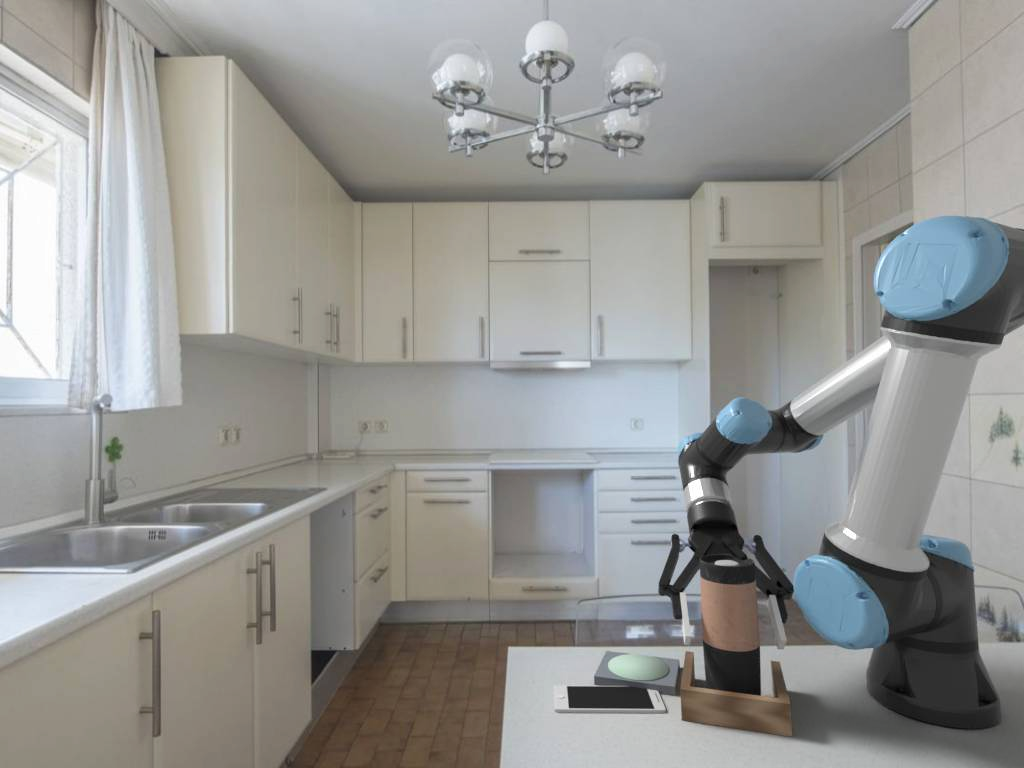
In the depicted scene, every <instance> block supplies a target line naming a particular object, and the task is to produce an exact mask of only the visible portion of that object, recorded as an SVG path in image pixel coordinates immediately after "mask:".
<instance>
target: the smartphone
mask: <svg viewBox="0 0 1024 768" xmlns="http://www.w3.org/2000/svg"><path fill="white" fill-rule="evenodd" d="M553 707H554V708H553V710H554V713H559V714H560V713H561V714H564V713H566V714H568V713H570V714H571V713H572V714H573V713H574V714H575V713H577V714H579V713H581V714H583V713H585V714H586V713H587V714H590V713H593V714H596V713H597V714H666V713H667V708H666V706H665V704H664V702H663V699H662V697H661V693H659V692H658V691H657V690H651V689H644V688H637V687H629V686H604V685H553Z"/></svg>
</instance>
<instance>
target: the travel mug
mask: <svg viewBox="0 0 1024 768" xmlns="http://www.w3.org/2000/svg"><path fill="white" fill-rule="evenodd" d="M747 558H748V557H747ZM755 565H756V563H755V561H754V559H752V558H750V557H749V558H748V559H747V560H739V559H736V558H735V557H734V556H733V555H729V554H711V555H705V556H702V557H701V558H700V570H699V576H700V579H699V580H700V581H699V582H700V606H701V632H702V633H701V635H702V649H703V661H704V662H703V663H704V665H703V666H704V673H705V674H704V676H705V686H706V687H705V688H706V689H713V690H721V691H728V692H736V693H743V694H751V695H758V696H762V681H761V680H762V677H761V646H760V645H761V640H760V622H759V609H758V607H759V606H758V594H757V593H758V592H757V587H756V574H755Z"/></svg>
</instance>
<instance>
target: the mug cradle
mask: <svg viewBox="0 0 1024 768" xmlns="http://www.w3.org/2000/svg"><path fill="white" fill-rule="evenodd" d="M684 653H685V654H684V661H683V668H682V675H681V683H680V690H679V691H680V692H679V693H680V710H681V711H680V712H681V713H680V715H681V720H682V721H686V722H687V721H688V722H693V723H699V724H707V725H713V726H718V727H719V726H720V727H726V728H732V729H737V730H739V729H740V730H745V731H753V732H758V733H765V734H771V735H778V736H785V737H789V738H790V737H791V738H793V728H792V712H791V711H792V710H791V702H790V697H789V693H788V689H787V685H786V681H785V678H784V674H783V670H782V666H781V663H780V661H775V660H770V670H771V671H770V672H771V689H772V693H773V697H771V696H766V695H761V696H758V695H751V694H743V693H736V692H728V691H721V690H713V689H706V687H705V688H704V687H696V686H695V682H696V675H695V674H696V673H695V672H696V671H695V652H694V651H687V650H686V651H685V652H684Z"/></svg>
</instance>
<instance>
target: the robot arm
mask: <svg viewBox="0 0 1024 768" xmlns="http://www.w3.org/2000/svg"><path fill="white" fill-rule="evenodd" d="M873 289H874V292H875V293H874V294H875V295H876V296H878V299H879V303H880V304H881V305H882V307H883V308H884V309H885V310H884V313H883V317H882V320H881V325H880V329H879V330H880V331H881V332H882V333H883V336H881V337H879V338H878V339H877V340H875V341H873V342H872V343H871V344H870V345H868V346H866V347H865V348H864V349H863V350H861V351H860V352H858V353H857V354H855V355H854V356H852V358H850V359H848V360H847V361H846V362H844V363H843V364H841V365H840V366H838V367H837V368H835V369H834V370H833V371H831V372H830V373H828V374H827V375H826V376H824V377H822V378H820V380H819V381H817V382H815V383H814V384H813V385H811V386H810V387H808V388H806V389H805V390H804V391H803V392H801V393H800V394H799V395H796V397H794V398H792V400H790V401H789V402H787V403H785V404H784V405H782V406H781V407H779V408H777V409H771V410H770V409H768V410H767V408H765V407H764V406H763V405H762V404H761V403H759V402H758V401H756V400H754V399H753V400H750V399H749V398H748V397H742V396H741V397H735V398H734V399H732V400H730V402H729V403H728V404H727V405H726V406H725V407H723V409H721V410H720V411H719V412H718V414H717V415H716V417H715V418H714V419H713V420H712V421H711V423H710V424H709V425H708V426H707V427H706V429H705V430H704V431H703V432H694V433H691V434H690V435H688V436H684V438H682V439H681V441H680V442H679V444H678V446H677V455H678V456H677V457H678V459H677V463H678V467H679V472H680V478H681V484H682V485H681V486H682V491H683V497H684V503H685V504H684V505H685V512H686V514H687V515H686V518H687V525H688V531H689V532H688V533H689V536H688V537H680V535H679V534H677V533H673V534H671V540H670V551H669V554H668V556H667V559H666V562H665V563H664V564H665V565H664V568H663V570H662V572H661V573H662V574H661V576H660V579H659V581H658V590H657V591H658V592H657V593H658V595H660V597H661V596H663V597H664V596H666V597H669V598H670V601H671V609H672V616H673V618H674V620H680V621H681V628H682V636H683V644H684V645H685V646H690V645H691V640H692V632H691V626H690V619H689V610H688V603H687V601H688V600H687V595H686V594H687V593H686V592H685V590H686V588H687V587H688V586H689V584H690V583H691V582H692V580H693V579H694V577H695V575H696V574H697V573H698V572H699V571H700V558H701V557H702V556H705V555H711V554H729V555H733V556H734V557H735V558H736V559H739V560H747V559H748V556H747V554H746V553H745V552H744V551H743V549H744V548H746V549H747V550H748V552H750V553H749V554H751V555H754V558H755V559H756V561H757V563H759V565H760V567H761V568H762V570H763V571H764V572H765V573H766V574H765V573H764V572H763V571H762V570H761V569H760V568H759V567H758V566H757V565H756V564H755V574H756V589H759V590H760V591H761V592H762V594H763V595H765V596H766V597H767V598H768V599H767V602H766V607H767V612H768V614H769V619H770V623H771V628H772V631H773V635H774V639H775V644H776V647H777V650H784V649H785V646H786V644H787V641H788V639H787V636H786V633H785V627H784V624H786V622H787V620H788V611H787V608H786V607H787V606H786V604H785V600H787V601H788V600H789V601H790V600H791V599H792V597H793V594H794V599H795V600H796V604H797V606H798V607H799V608H800V610H801V612H802V615H803V617H804V619H805V620H806V622H807V623H808V625H810V626H811V628H812V629H813V630H814V631H815V632H816V633H817V635H820V636H821V638H823V639H824V640H825V641H827V642H829V643H831V644H833V645H834V646H837V647H840V648H842V649H846V650H853V651H854V650H855V651H857V650H858V651H859V650H864V649H872V652H871V655H870V659H869V662H868V665H867V668H866V672H865V673H866V674H865V678H866V689H867V692H868V694H869V695H870V696H871V697H872V698H873V699H874V700H875V701H877V702H878V703H880V704H881V705H883V706H884V707H886V708H888V709H889V710H892V711H894V712H896V713H899V714H901V715H903V716H906V717H908V718H911V719H915V720H917V721H921V722H925V723H928V724H933V725H937V726H944V727H949V728H959V729H983V728H984V729H985V728H989V727H993V726H995V725H997V724H998V723H1000V721H1002V706H1001V700H1000V696H999V694H998V692H997V690H996V686H995V684H994V682H993V680H992V678H991V676H990V674H989V672H988V669H987V667H986V665H985V662H984V661H983V658H982V656H981V653H980V646H979V633H978V631H979V630H978V618H977V616H978V615H977V606H976V605H977V604H976V591H975V575H974V572H975V567H974V565H973V561H972V555H971V554H972V553H971V551H970V548H969V547H968V545H966V544H965V543H964V542H962V541H961V540H956V539H953V538H948V537H943V536H942V537H941V536H935V535H929V534H924V531H925V528H926V526H927V521H928V518H929V516H930V512H931V509H932V507H933V503H934V500H935V496H936V494H937V490H938V489H939V484H940V481H941V478H942V474H943V471H944V469H945V465H946V463H947V459H948V456H949V453H950V451H951V447H952V445H953V444H952V443H953V440H954V437H955V434H956V432H957V427H958V426H959V421H960V419H961V416H962V412H963V409H964V406H965V403H966V400H967V397H968V393H969V391H970V387H971V384H972V381H973V378H974V375H975V372H976V369H977V367H978V363H979V360H980V359H981V358H983V356H986V355H988V354H990V353H992V352H993V351H996V350H997V349H1000V348H1001V347H1002V344H1003V340H1004V337H1005V336H1007V335H1009V334H1011V333H1013V332H1014V331H1015V330H1017V329H1019V328H1021V327H1022V326H1024V229H1023V228H1018V227H1012V226H1008V225H1004V224H1001V223H997V222H994V221H991V220H989V219H987V218H984V217H974V216H973V217H972V216H966V215H965V216H962V215H942V216H935V217H931V218H928V219H925V220H922V221H919V222H917V223H915V224H913V225H912V226H910V227H909V228H907V229H906V230H904V231H903V232H902V233H899V234H898V235H897V236H896V237H894V239H893V240H891V242H889V244H888V245H887V246H886V247H885V249H884V250H883V252H882V253H881V255H880V257H879V259H878V261H877V263H876V266H875V269H874V274H873ZM872 406H873V407H872ZM870 407H872V410H871V411H872V412H871V414H870V419H869V422H868V425H867V428H866V432H865V435H864V438H863V439H864V440H863V442H862V447H861V450H860V454H859V457H858V461H857V464H856V468H855V471H854V475H853V477H852V478H853V479H852V481H851V486H850V489H849V492H848V496H847V500H846V504H845V507H844V510H843V514H842V518H841V520H838V521H835V522H832V523H830V524H828V525H827V526H826V527H825V530H824V533H823V537H822V540H821V544H820V547H819V550H818V553H817V554H814V555H811V556H809V557H806V559H805V560H802V561H801V562H800V563H799V565H798V566H797V568H796V569H795V571H794V575H793V581H791V580H790V579H789V578H788V576H787V575H786V574H785V573H784V571H783V570H782V568H781V567H780V566H779V565H778V563H777V562H776V560H775V559H774V557H773V556H772V555H771V553H770V552H769V551H768V550H767V548H766V547H765V544H764V539H763V537H762V536H761V535H759V534H755V535H754V536H753V538H743V536H742V535H741V534H740V532H739V527H738V525H737V524H738V523H737V520H736V514H735V511H734V507H733V501H732V497H731V493H730V487H729V484H728V479H727V475H728V473H729V472H730V471H731V470H732V469H734V467H736V466H737V464H739V463H740V461H741V460H742V459H744V458H745V457H746V456H748V455H750V456H751V455H762V454H763V455H764V454H779V453H780V454H781V453H782V454H784V453H785V454H786V453H793V454H795V453H796V454H797V453H802V452H806V451H810V450H813V449H815V448H816V447H818V446H819V445H820V443H821V441H822V440H823V438H824V435H825V434H826V433H828V432H830V431H831V430H833V429H835V428H836V427H838V426H839V425H841V424H843V423H845V422H846V421H848V420H850V419H851V418H853V417H855V416H856V415H858V414H860V413H861V412H863V411H865V410H866V409H868V408H870ZM687 547H688V549H690V550H691V551H692V552H693V555H692V557H691V558H690V560H689V561H688V563H687V564H686V566H685V567H684V569H683V570H682V572H681V573H680V574H679V575H678V577H677V579H676V580H675V581H674V583H673V584H671V581H672V579H673V575H674V573H675V570H676V566H677V564H678V561H679V559H680V558H679V557H680V553H683V552H684V551H685V548H687Z"/></svg>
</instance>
